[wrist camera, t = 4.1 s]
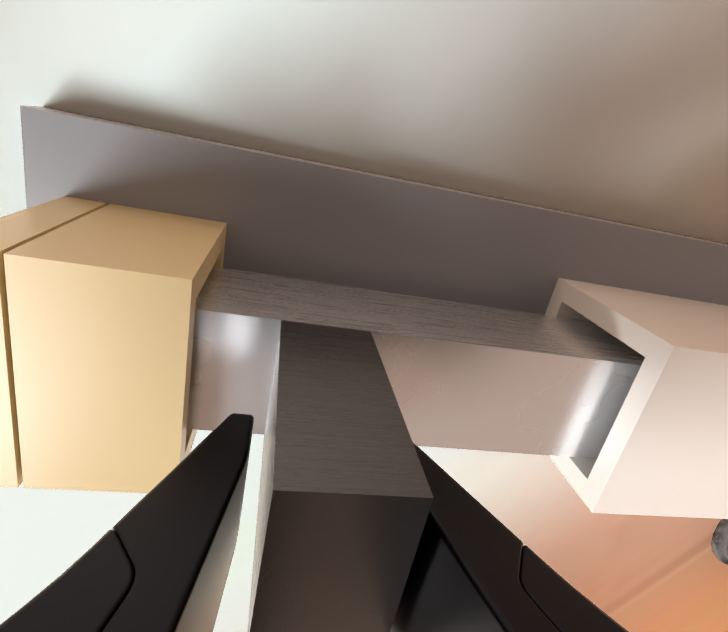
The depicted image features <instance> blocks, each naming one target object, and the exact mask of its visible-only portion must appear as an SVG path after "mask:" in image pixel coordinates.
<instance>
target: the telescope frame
mask: <svg viewBox="0 0 728 632" xmlns="http://www.w3.org/2000/svg"><path fill="white" fill-rule="evenodd" d="M20 108H21V124H22V139H23V155H24V170H25V186H26V202H27V209H25V210H22V211H19V212H16V213H13V214H10V215H7V216H4V217H1V218H0V487H19V485H20V484H21V483H22V481H23V488H45V489H67V490H90V491H112V492H135V493H149V492H150V491H151V490H152V489H153V488H154V487H155V486H156V485H157V484H158V483H159V482H161V481H162V480H163V479H164V478H165V477H166V476H167V475H168V474H169V473H170V472H171V471H172V470H173V469H174V468H175V467H176V466H177V465H178V464H179V463H180V462H181V461H182V460H183V459H184V458H186V457H187V456H188V455H189V454H190V451H191V448H192V444H193V441H194V438H195V435H196V431H197V429H187V417H188V403H189V389H190V376H191V362H192V348H193V335H194V321H195V307H196V298H197V296H198V294H199V292H200V290H201V289H202V287H203V285H204V283H205V281H206V279H207V277H208V275H209V273H210V271H211V270H212V268H213V267H219V268H226V269H233V270H239V271H246V272H253V273H260V274H267V275H274V276H281V277H288V278H295V279H301V280H308V281H315V282H322V283H329V284H336V285H343V286H350V287H357V288H363V289H370V290H377V291H384V292H391V293H398V294H405V295H412V296H418V297H425V298H432V299H439V300H446V301H453V302H460V303H467V304H474V305H480V306H487V307H494V308H501V309H508V310H515V311H522V312H529V313H536V314H542V315H549V316H556V317H563V318H570V319H577V320H584V321H591V322H593V323H595V324H596V325H598V326H599V327H601V328H602V329H604V330H605V331H607V332H608V333H610V334H611V335H613V336H614V337H616V338H617V339H619V340H620V341H622V342H623V343H625V344H626V345H628V346H629V347H631V348H632V349H634V350H635V351H637V352H638V353H640V354H641V355H643V356H644V357H645V359H644V361H643V363H642V365H641V367H640V369H639V371H638V373H637V376H636V378H635V380H634V382H633V384H632V386H631V388H630V390H629V392H628V395H627V397H626V399H625V401H624V403H623V405H622V407H621V409H620V411H619V414H618V416H617V418H616V420H615V422H614V424H613V426H612V428H611V430H610V433H609V435H608V437H607V439H606V441H605V443H604V445H603V447H602V449H601V452H600V454H599V456H598V458H597V459H594V458H580V457H566V456H553V455H548V456H549V457H550V459H551V460H552V461H553V462H554V464H555V465H556V466H557V468H558V469H559V470H560V472H561V473H562V474H563V475H564V477H565V478H566V479H567V481H568V482H569V483H570V485H571V486H572V487H573V489H574V490H575V491H576V492H577V494H578V495H579V496H580V498H581V499H582V500H583V502H584V503H585V504H586V505H587V507H588V508H589V509H590V511H591V512H592V513H605V514H627V515H650V516H672V517H694V518H717V519H728V244H724V243H719V242H714V241H709V240H704V239H699V238H694V237H689V236H684V235H679V234H674V233H669V232H664V231H659V230H654V229H649V228H644V227H639V226H634V225H629V224H624V223H619V222H614V221H609V220H604V219H599V218H594V217H589V216H584V215H579V214H574V213H569V212H564V211H559V210H554V209H549V208H544V207H539V206H534V205H529V204H524V203H519V202H514V201H509V200H504V199H499V198H494V197H489V196H484V195H479V194H474V193H469V192H464V191H459V190H454V189H449V188H444V187H439V186H434V185H429V184H424V183H419V182H414V181H409V180H404V179H399V178H394V177H389V176H384V175H379V174H374V173H369V172H364V171H359V170H354V169H349V168H344V167H339V166H334V165H329V164H324V163H319V162H314V161H309V160H304V159H299V158H294V157H289V156H284V155H279V154H274V153H269V152H264V151H259V150H254V149H249V148H244V147H239V146H234V145H229V144H224V143H219V142H214V141H209V140H204V139H199V138H194V137H189V136H184V135H179V134H174V133H169V132H164V131H159V130H154V129H149V128H144V127H139V126H134V125H129V124H124V123H119V122H114V121H109V120H104V119H99V118H94V117H90V116H85V115H80V114H75V113H70V112H65V111H60V110H55V109H50V108H45V107H36V106H20Z"/></svg>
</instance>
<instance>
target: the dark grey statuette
mask: <svg viewBox="0 0 728 632" xmlns="http://www.w3.org/2000/svg"><path fill="white" fill-rule="evenodd" d="M711 545H712V550H713V553H714V554H715V556H716V557H717V558H718V559H719V560H720V561H722V562H723V563H725V564H728V519H722V520H721V522H720V523H719V524H718V526H717V528H716V530H715V532H714V534H713V538H712V543H711Z"/></svg>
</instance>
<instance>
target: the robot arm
mask: <svg viewBox="0 0 728 632" xmlns="http://www.w3.org/2000/svg"><path fill="white" fill-rule="evenodd" d="M253 422H254V417H253V416H252V415H249V414H238V413H232V414H230V415H229V416H228V417H227V418H226V419H225V420H224V421H223V422H222V423H221V424H220V425H219V426H218V427H217V428H216V429H215V430H214V431H213V432H212V433H210V434H209V435H208V436H207V437H206V438H205V439H204V440H203V441H202V442H201V443H200V444H199V445H198V446H197V447H196V448H195V449H194V450H193V451H192V452H191V453H190V454H189V455H188V456H187V457H186V458H184V459H183V460H182V461H181V462H180V463H179V464H178V465H177V466H176V467H175V468H174V469H173V470H172V471H171V472H170V473H169V474H168V475H167V476H166V477H165V478H164V479H163V480H162V481H161V482H159V483H158V484H157V485H156V486H155V487H154V488H153V489H152V490H151V491H150V492H149V493H148V494H147V495H146V496H145V497H144V498H143V499H142V500H141V501H140V502H139V503H138V504H137V505H136V506H134V507H133V508H132V509H131V510H130V511H129V512H128V513H127V514H126V515H125V516H124V517H123V518H122V519H121V520H120V521H119V522H118V523H117V524H116V525H115V526H114V527H113V530H109V531H108V532H107V533H106V534H105V535H104V536H103V537H102V538H101V539H100V540H99V541H98V542H97V543H96V544H95V545H94V546H93V547H91V548H90V549H89V550H88V551H87V552H86V553H85V554H84V555H83V556H82V557H81V558H79V559H78V560H77V561H76V562H75V563H74V564H73V565H72V566H71V567H70V568H68V569H67V570H66V571H65V572H64V573H63V574H62V575H61V576H60V577H58V578H57V579H56V580H55V581H53V582H52V583H51V584H50V585H49V586H47V587H46V588H45V589H44V590H43V591H41V592H40V593H39V594H38V595H37V596H35V597H34V598H33V599H32V600H30V601H29V602H28V603H27V604H26V605H24V606H23V607H22V608H21V609H20V610H18V611H17V612H16V613H15V614H13V615H12V616H11V617H9V618H8V619H7V620H6V621H4V622H3V623H2V624H1V625H0V632H213V628H214V625H215V621H216V617H217V613H218V610H219V606H220V602H221V598H222V595H223V591H224V587H225V584H226V580H227V576H228V572H229V569H230V565H231V561H232V557H233V554H234V549H235V545H236V541H237V536H238V530H239V523H240V516H241V509H242V502H243V494H244V487H245V480H246V473H247V466H248V458H249V451H250V444H251V437H252V430H253ZM413 445H414V447H415V450H416V452H417V455H418V458H419V460H420V463H421V466H422V468H423V471H424V474H425V476H426V479H427V482H428V484H429V487H430V490H431V492H432V495H433V497H434V499H433V502H432V505H431V508H430V511H429V514H428V517H427V520H426V523H425V526H424V529H423V532H422V535H421V538H420V541H419V544H418V548H417V551H416V554H415V557H414V560H413V563H412V566H411V569H410V572H409V575H408V578H407V581H406V584H405V587H404V590H403V593H402V596H401V599H400V602H399V606H398V609H397V612H396V615H395V618H394V621H393V624H392V627H391V630H390V632H628V631H627V630H626V629H624V628H623V627H622V626H620V625H619V624H618V623H617V622H615V621H614V620H613V619H612V618H610V617H609V616H608V615H607V614H605V613H604V612H603V611H602V610H600V609H599V608H598V607H597V606H596V605H594V604H593V603H592V602H591V601H589V600H588V599H587V598H586V597H585V596H583V595H582V594H581V593H580V592H579V591H577V590H576V589H575V588H574V587H572V586H571V585H570V584H569V583H568V582H567V581H565V580H564V579H563V578H562V577H561V576H560V575H559V574H558V573H556V572H555V571H554V570H553V569H552V568H551V567H550V566H548V565H547V564H546V563H545V562H544V561H543V560H542V559H541V558H539V557H538V556H537V555H536V554H535V553H534V552H533V551H532V550H531V549H530V548H528V547H527V546H523V543H522V541H521V540H520V539H518V538H517V537H516V536H515V535H514V534H513V533H512V532H511V531H510V530H509V529H507V528H506V527H505V526H504V525H503V524H502V523H501V522H500V521H499V520H498V519H496V518H495V517H494V516H493V515H492V514H491V513H490V512H489V511H488V510H487V509H486V508H484V507H483V506H482V505H481V504H480V503H479V502H478V501H477V500H476V499H475V498H473V497H472V496H471V495H470V494H469V493H468V492H467V491H466V490H465V489H464V488H463V487H461V486H460V485H459V484H458V483H457V482H456V481H455V480H454V479H453V478H452V477H450V476H449V475H448V474H447V473H446V472H445V471H444V470H443V469H442V468H441V467H439V466H438V465H437V464H436V463H435V462H434V461H433V460H432V459H431V458H430V457H429V456H427V455H426V454H425V453H424V452H423V451H422V450H421V449H420V448H419V447H418V446H416V445H415V444H414V443H413Z"/></svg>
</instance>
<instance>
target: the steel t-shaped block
mask: <svg viewBox="0 0 728 632" xmlns="http://www.w3.org/2000/svg"><path fill="white" fill-rule="evenodd" d="M644 359H645V357H644V356H643V355H641V354H640V353H638V352H637V351H635V350H634V349H632V348H631V347H629V346H628V345H626V344H625V343H623V342H622V341H620V340H619V339H617V338H616V337H614V336H613V335H611V334H610V333H608V332H607V331H605V330H604V329H602V328H601V327H599V326H598V325H596V324H595V323H593V322H591V321H584V320H577V319H570V318H563V317H556V316H549V315H542V314H536V313H529V312H522V311H515V310H508V309H501V308H494V307H487V306H480V305H474V304H467V303H460V302H453V301H446V300H439V299H432V298H425V297H418V296H412V295H405V294H398V293H391V292H384V291H377V290H370V289H363V288H357V287H350V286H343V285H336V284H329V283H322V282H315V281H308V280H301V279H295V278H288V277H281V276H274V275H267V274H260V273H253V272H246V271H239V270H233V269H226V268H219V267H213V268H212V270H211V271H210V273H209V275H208V277H207V279H206V281H205V283H204V285H203V287H202V289H201V290H200V292H199V294H198V296H197V298H196V307H195V321H194V335H193V348H192V362H191V376H190V389H189V403H188V417H187V429H198V430H212V431H214V430H215V429H216V428H217V427H218V426H219V425H220V424H221V423H222V422H223V421H224V420H225V419H226V418H227V417H228V416H229V415H230V414H232V413H238V414H249V415H252V416H253V417H254V422H253V430H252V433H253V434H264V443H263V455H262V467H261V479H260V491H259V503H258V515H257V527H256V539H255V551H254V563H253V575H252V587H251V599H250V611H249V623H248V632H390V630H391V627H392V624H393V621H394V618H395V615H396V612H397V609H398V606H399V602H400V599H401V596H402V593H403V590H404V587H405V584H406V581H407V578H408V575H409V572H410V569H411V566H412V563H413V560H414V557H415V554H416V551H417V548H418V544H419V541H420V538H421V535H422V532H423V529H424V526H425V523H426V520H427V517H428V514H429V511H430V508H431V505H432V502H433V499H434V497H433V495H432V492H431V490H430V487H429V484H428V482H427V479H426V476H425V474H424V471H423V468H422V466H421V463H420V460H419V458H418V455H417V452H416V450H415V447H414V445H413V443H414V444H415V445H416V446H430V447H444V448H457V449H471V450H484V451H498V452H512V453H525V454H539V455H553V456H566V457H580V458H594V459H597V458H598V456H599V454H600V452H601V449H602V447H603V445H604V443H605V441H606V439H607V437H608V435H609V433H610V430H611V428H612V426H613V424H614V422H615V420H616V418H617V416H618V414H619V411H620V409H621V407H622V405H623V403H624V401H625V399H626V397H627V395H628V392H629V390H630V388H631V386H632V384H633V382H634V380H635V378H636V376H637V373H638V371H639V369H640V367H641V365H642V363H643V361H644Z"/></svg>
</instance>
